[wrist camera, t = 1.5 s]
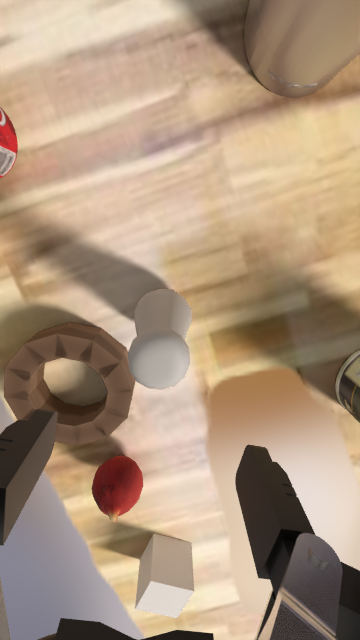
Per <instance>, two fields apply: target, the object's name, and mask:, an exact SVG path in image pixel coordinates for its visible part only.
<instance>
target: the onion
mask: <svg viewBox="0 0 360 640" xmlns="http://www.w3.org/2000/svg"><path fill="white" fill-rule="evenodd" d="M142 488H143V477H142V472H141V470H140V468H139V467H138V465H137V464H136V462H135V461H133V460H132V459H130V458H129V457H126V456H115V457H113V458H110V459H108V460H107V461H106V462H104V463H103V464H102V465H101V466H100V467H99V468H98V469H97V472H96V474H95V477H94V480H93V485H92V494H93V497H94V500H95V501H96V503H97V505H98V507H99V509H100V510H101V511H102V512H103V513H104V514H106V515H108V516H109V518H110V520H111V521H113V522H115V521H117V517H118V516H120V515H122V514H124V513H126V512H128V511H129V510H130V509H131V508H132V507H133V506H134V505H135V504H136V503H137V501H138V499H139V497H140V494H141V491H142Z"/></svg>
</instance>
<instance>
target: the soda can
mask: <svg viewBox="0 0 360 640" xmlns="http://www.w3.org/2000/svg"><path fill="white" fill-rule="evenodd" d="M17 150H18V144H17V136H16V133H15V129H14V127H13V124H12V122H11V121H10V119H9V117H8V116H7V114H6V113H5V112H4V111H3V109H2V108H1V107H0V178H1V177H3V176H4V175H6V174H7V173H8V172H9V171H10V170H11V168H12V167H13V165H14V163H15V160H16V157H17Z"/></svg>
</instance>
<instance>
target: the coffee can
mask: <svg viewBox="0 0 360 640" xmlns="http://www.w3.org/2000/svg"><path fill="white" fill-rule="evenodd" d="M335 391H336V396H337V399H338V401H339V402H340V404H341V405H342V406H343V407H344V408H345V409H346V410H347V411H349V412H350V414H351V415H353V417H354V418H355V419H356V420H357V421H358V422H359V423H360V350H358V351H356V352H355V353H354V354H353V355H351V356H350V357H349V358H348V359H347V360H346V362H345V363H344V364H343V366H342V367H341V369H340V370H339V373H338V375H337V379H336V383H335Z"/></svg>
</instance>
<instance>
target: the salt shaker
mask: <svg viewBox="0 0 360 640" xmlns="http://www.w3.org/2000/svg"><path fill="white" fill-rule="evenodd" d="M134 319H135V326H136V333H137V337H136V338H135V339H134V340H133V342H132V344H131V347H130V349H129V352H128V355H127V356H128V364H129V370H130V373H131V374H132V375H133V377H134V378H135V380H136V381H137V382H138V383H140V384H142V385H144V386H145V387H147V388H151V389H159V390H162V389H166V388H169V387H172V386H175V385H176V384H177V383H178V382H180V381H181V380H182V379H183V378H184V377H185V374H186V372H187V370H188V367H189V364H190V356H189V348H188V345H187V344H186V342H185V341H184V340H185V337H186V334H187V331H188V329H189V326H190V324H191V321H192V318H191V308H190V306H189V305H188V303H187V301H186V300H185V298H184V297H183V296H181V295H180V294H178V293H177V292H175V291H174V290H169V289H157V290H154V291H150V292H147V293H146V294H145V295H144V296H143V297H142V298H141V299H140V300H139V301H138V303H137V306H136V309H135V311H134Z"/></svg>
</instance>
